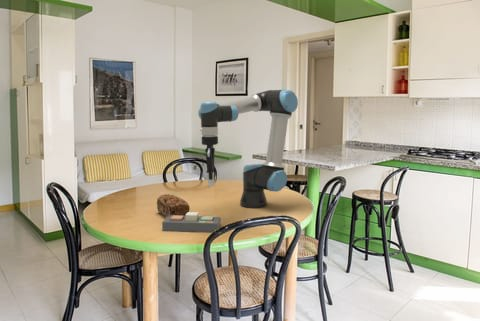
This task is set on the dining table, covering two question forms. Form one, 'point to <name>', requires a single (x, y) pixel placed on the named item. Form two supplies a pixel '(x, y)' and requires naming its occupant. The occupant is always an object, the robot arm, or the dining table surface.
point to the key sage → (207, 218)
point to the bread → (172, 206)
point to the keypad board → (191, 225)
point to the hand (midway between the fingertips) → (211, 185)
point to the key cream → (192, 216)
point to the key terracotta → (176, 218)
